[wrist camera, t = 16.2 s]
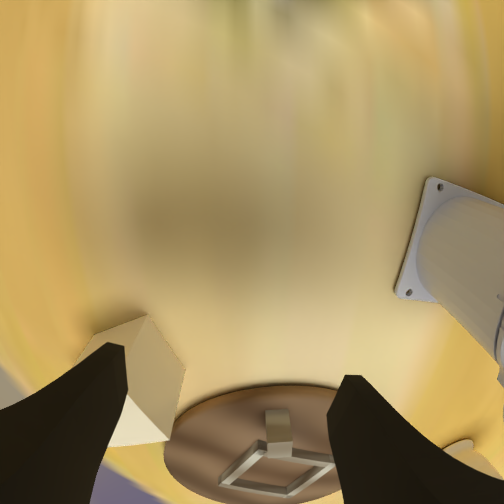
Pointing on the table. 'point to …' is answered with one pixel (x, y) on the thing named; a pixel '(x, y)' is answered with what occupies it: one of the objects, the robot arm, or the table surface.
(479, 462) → the jar
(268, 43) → the table surface
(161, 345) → the beige block
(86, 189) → the table surface
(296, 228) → the table surface
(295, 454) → the turntable
